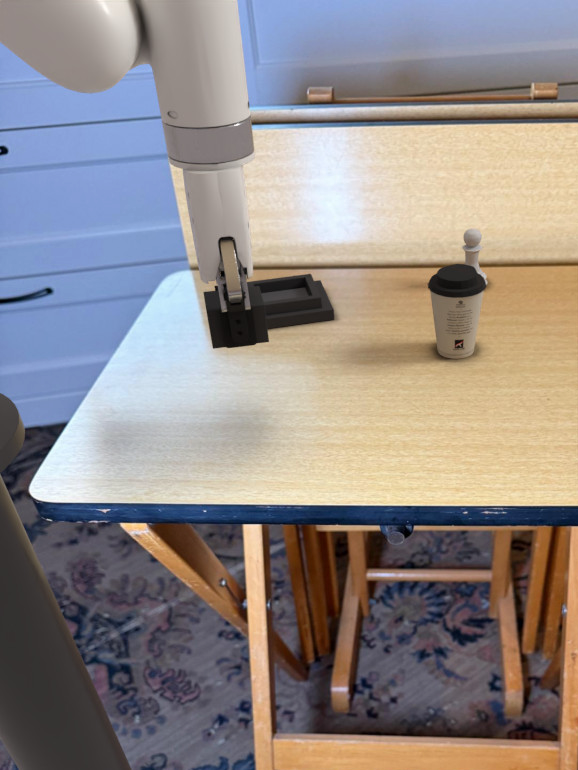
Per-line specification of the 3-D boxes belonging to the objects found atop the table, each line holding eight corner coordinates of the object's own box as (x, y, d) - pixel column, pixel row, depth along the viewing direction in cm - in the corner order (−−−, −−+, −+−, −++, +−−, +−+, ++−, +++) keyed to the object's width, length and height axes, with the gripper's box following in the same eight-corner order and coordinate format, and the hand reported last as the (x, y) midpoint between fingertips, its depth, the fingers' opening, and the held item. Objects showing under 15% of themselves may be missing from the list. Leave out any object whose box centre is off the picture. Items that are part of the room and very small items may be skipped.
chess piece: (477, 275, 117) (479, 220, 112) (493, 287, 114) (496, 231, 108) (448, 281, 115) (449, 226, 110) (464, 294, 112) (466, 237, 107)
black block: (212, 348, 79) (206, 311, 76) (209, 328, 82) (203, 291, 80) (269, 342, 80) (264, 304, 77) (263, 322, 83) (259, 285, 81)
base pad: (245, 332, 105) (242, 311, 103) (238, 301, 113) (234, 280, 111) (334, 319, 107) (332, 298, 105) (321, 289, 115) (319, 269, 113)
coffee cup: (470, 368, 96) (472, 289, 90) (418, 356, 99) (417, 279, 92) (491, 343, 101) (495, 266, 94) (442, 332, 104) (442, 257, 97)
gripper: (163, 119, 75) (196, 302, 87) (169, 173, 62) (207, 378, 74) (243, 113, 76) (265, 295, 88) (264, 165, 64) (286, 368, 76)
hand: (238, 331), depth 81 cm, fingers closed on black block, 4 cm apart
